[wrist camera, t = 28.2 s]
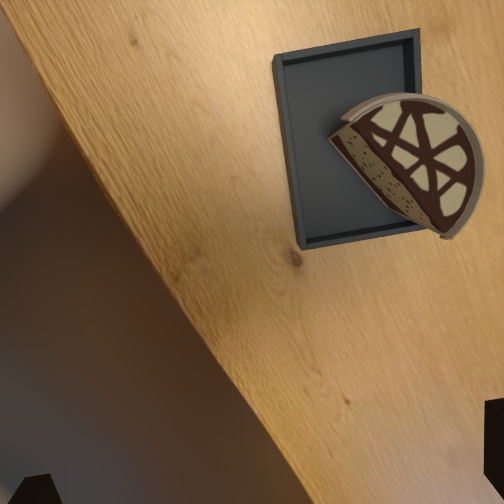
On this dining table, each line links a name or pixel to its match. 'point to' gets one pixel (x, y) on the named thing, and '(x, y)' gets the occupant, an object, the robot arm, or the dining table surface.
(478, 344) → the dining table surface
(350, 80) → the tray
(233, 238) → the dining table surface
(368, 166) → the food container
